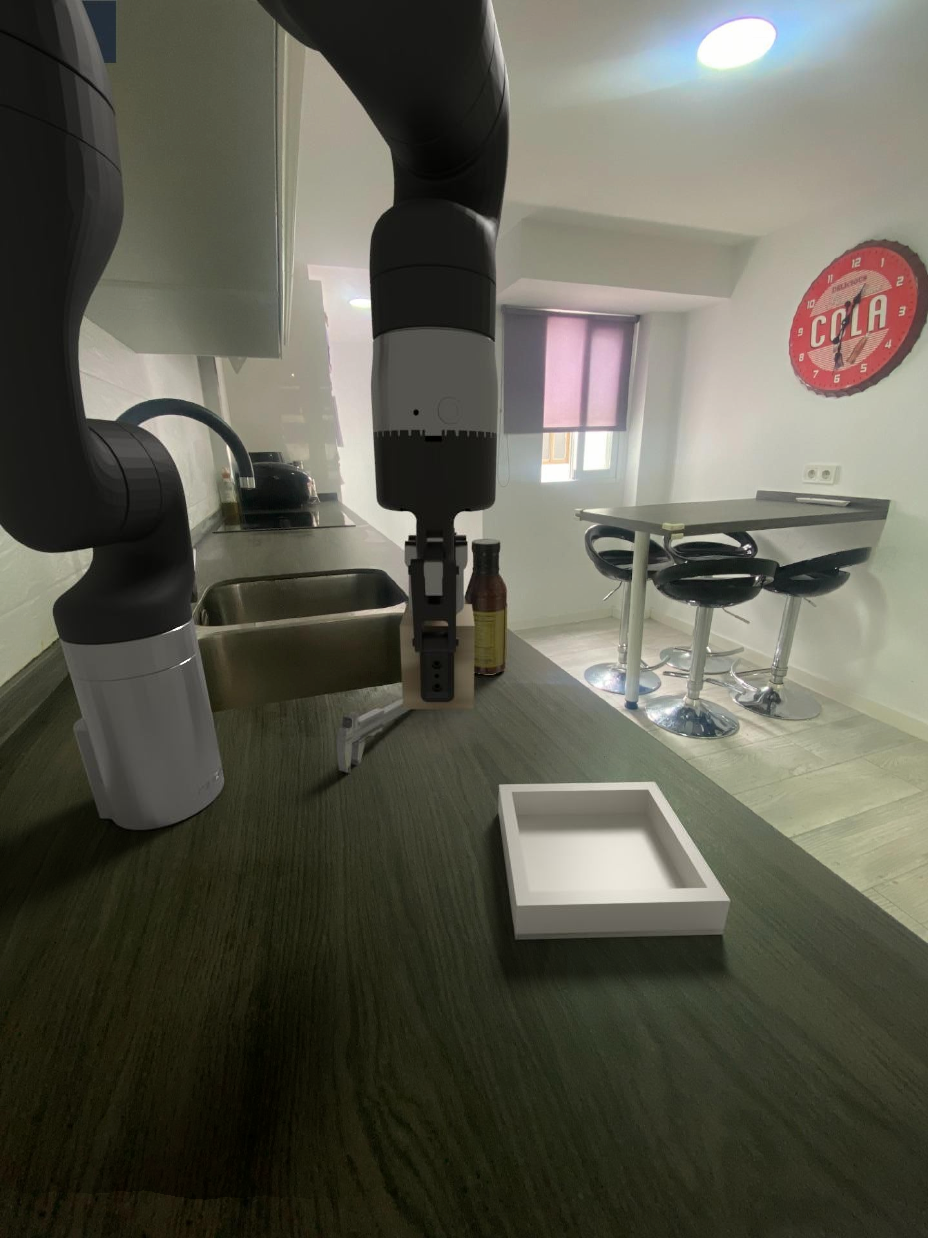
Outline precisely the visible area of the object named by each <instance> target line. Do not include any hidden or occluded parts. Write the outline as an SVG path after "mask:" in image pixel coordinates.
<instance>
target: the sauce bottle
mask: <svg viewBox="0 0 928 1238" xmlns="http://www.w3.org/2000/svg"><path fill="white" fill-rule="evenodd" d="M471 552H472V573H471V574H470V578H469V581H468V584H467V588H466V591H465V592H464V604H472V610H473V617H474V624H475V646H474V672H475V673H480V674H494V673H497V672H500V671H502V670H504V669H505V670H506V666H507V665H506V664H507V663H506V661H507V656H508V651H507V650H508V603H507V602H508V600H507V599H508V595H507V594H508V590H507V589H508V587H507V585H506V583H505V581H504V579H503V578H502V576H501V574H500V552H501V541H500V540H499V539H495V538H478V539H477V538H476V539H474V540H472V541H471ZM505 670H504V671H505ZM502 672H503V671H502ZM475 673H474V674H475Z"/></svg>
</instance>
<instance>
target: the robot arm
mask: <svg viewBox="0 0 928 1238" xmlns="http://www.w3.org/2000/svg"><path fill="white" fill-rule="evenodd" d="M256 2H257V3H258V4H259V5H260V6H261V7H262V8H263V10H265V11H266V12H267V13H268V14H269V16H271V17H272V18H273V20H274V21H275V22H277V24H278V25H279V26H280V27H281V28H283V30H284V31H286V33H288V34H289V35H290V36H291V37H292V38H294V40H296V41H298V42H299V43H300V44H302V45H303V46H305V47H307V48H309V49H311V50H312V51H316V52H319V53H320V54H321V55H322V56H323V58H324V59H325V60H326V61H327V63H328V64H329V65H330V66H331V67H332V69H333V70H334V71H335V73H336V74H337V75H338V76H339V78H340V79H341V80H342V81H343V83H344V84H345V85H346V86H347V88H348V90H350V92H351V93H352V95H353V96H354V97H355V98H356V100H357V102H359V104H360V105H361V106H362V108H363V110H364V111H365V113H366V114H367V115H368V117H369V119H370V120H371V122H372V123H373V125H374V126H375V128H376V129H377V131H378V132H379V134H380V136H381V137H382V139H383V140H384V142H385V143H386V145H387V146H388V147H389V149H390V155H391V161H392V162H391V163H392V169H393V171H392V172H393V202H392V204H393V205H392V206H391V207H389V208H388V209H386V210H385V211H384V212H383V213H382V214H381V215H380V217H378V219H377V220H376V223H375V224H374V226H373V229H372V233H371V235H370V245H369V264H368V266H369V269H368V270H369V292H370V294H369V295H370V312H371V313H370V314H371V332H372V336H371V337H372V340H373V341H372V363H371V364H372V365H371V373H370V374H371V376H370V395H371V397H370V398H371V399H370V400H371V401H370V402H371V416H372V417H371V419H372V440H373V441H372V442H373V455H374V456H373V457H374V475H375V477H374V480H375V495H376V497H375V498H376V502H377V504H378V505H379V506H380V507H381V508H382V509H385V510H388V511H391V512H393V511H394V512H409V513H411V514H412V515H413V516H414V517H415V520H416V522H415V534H408V536H407V537H408V538H407V540H404V564H405V566H406V567H407V575H408V604H409V609H410V610H411V611H412V612H413V629H414V638H413V639H412V645H413V647H414V646H415V652H420V681H421V698H422V700H423V701H425V702H450V701H452V700H453V698H454V652H456V646H459V638H458V637H456V615H457V614H458V613H460V612H461V611H462V610H463V607H464V604H465V589H464V588H465V587H464V586H465V584H464V583H465V581H464V579H465V577H464V575H465V574H464V573H465V572H464V571H465V569H466V568H467V566H468V561H469V560H468V558H469V557H468V556H469V555H468V554H469V552H468V551H469V550H468V548H469V546H468V540H467V535H466V534H458V533H457V531H455V530H456V529H455V519H456V517H457V516H458V515H459V514H460V513H464V512H468V513H469V512H470V513H473V512H479V511H485V510H488V509H490V508H492V507H493V506H494V504H495V502H496V496H497V495H496V493H497V456H498V455H497V452H498V450H497V449H498V447H497V446H498V417H499V416H498V412H499V411H498V410H499V406H498V405H499V380H498V372H497V361H496V360H497V359H496V344H495V342H496V323H497V321H496V319H497V316H496V313H497V312H496V311H497V263H496V261H497V260H496V259H497V258H496V247H497V241H498V236H499V230H500V225H501V220H502V212H503V205H504V198H505V191H506V182H507V177H508V166H509V156H510V155H509V152H510V141H511V139H510V138H511V137H510V136H511V135H510V133H511V100H510V99H511V97H510V86H509V85H510V84H509V78H508V77H509V76H508V71H507V70H508V69H507V64H506V60H505V55H504V52H503V51H504V50H503V47H502V43H501V39H500V35H499V29H498V25H497V21H496V17H495V11H494V7H493V1H492V0H256ZM108 73H109V72H108V71H107V67H106V64H105V60H104V57H103V55H102V52H101V48H100V44H99V42H98V39H97V36H96V34H95V31H94V28H93V26H92V23H91V20H90V17H89V16H88V13H87V10H86V8H85V6H84V3H83V0H0V526H1V527H2V529H3V530H4V531H5V532H6V533H7V534H8V535H9V536H10V537H12V538H13V539H14V540H15V541H16V542H18V543H19V544H21V545H23V546H25V547H26V548H28V549H31V550H32V551H36V552H40V553H44V554H45V553H47V554H63V553H70V552H71V553H72V552H77V551H84V550H87V549H92V560H91V562H90V565H89V567H88V568H87V570H86V571H85V573H84V574H83V575H82V577H80V579H79V580H78V581H77V582H75V583H74V584H73V585H72V586H71V587H69V588H68V589H67V590H66V591H65V592H63V593H62V594H61V595H59V597H58V598H57V599H56V600H55V602H54V603H53V605H52V616H53V621H54V624H55V628H56V632H57V635H58V637H59V642H60V645H61V648H62V652H63V655H64V658H65V662H66V665H67V669H68V673H69V675H70V679H71V682H72V685H73V688H74V692H75V695H76V699H77V702H78V705H79V709H80V712H81V718H79V719H78V720H76V721H75V723H74V724H73V726H72V729H73V733H74V735H75V739H76V742H77V743H76V744H77V746H78V750H79V753H80V756H81V760H82V762H83V766H84V769H85V772H86V776H87V778H88V783H89V786H90V788H91V789H90V790H91V792H92V796H93V798H94V803H95V805H96V808H97V812H98V816H99V818H100V819H110V820H112V821H113V822H114V824H116V825H117V826H119V827H121V828H123V829H127V830H133V831H137V830H138V831H142V830H143V831H147V830H154V829H159V828H162V827H167V826H171V825H174V824H176V823H179V822H181V821H183V820H186V819H188V818H190V817H191V816H194V815H196V814H197V813H199V812H200V811H202V810H204V809H205V808H206V807H207V806H209V805H210V804H211V803H212V802H213V801H214V800H216V798H217V797H218V796H219V794H220V793H221V792H222V790H223V788H224V785H225V776H224V771H223V763H222V760H221V755H220V750H219V742H218V738H217V733H216V728H215V722H214V717H213V712H212V707H211V702H210V697H209V691H208V687H207V681H206V676H205V671H204V666H203V661H202V656H201V650H200V647H199V646H200V645H199V641H198V640H199V639H198V636H197V630H196V627H195V625H196V624H195V620H194V616H193V610H192V602H191V600H192V595H193V591H194V587H195V583H196V569H195V560H194V552H193V551H194V550H193V543H192V536H191V535H192V534H191V528H190V521H189V520H190V519H189V513H188V511H189V510H188V506H187V501H186V500H187V499H186V495H185V489H184V485H183V482H182V478H181V475H180V473H179V469H178V467H177V465H176V463H175V460H174V458H173V457H172V455H171V453H170V451H169V450H168V449H167V447H166V446H165V445H164V443H162V441H161V440H160V439H159V438H158V437H157V436H155V434H153V433H152V432H150V431H148V430H147V429H145V428H143V427H141V426H140V425H136V424H134V423H129V422H126V421H125V422H124V421H117V420H111V419H103V418H89V417H87V416H86V411H85V405H84V397H83V392H82V390H83V389H82V383H81V373H80V371H81V370H80V359H79V356H80V354H79V350H80V348H79V345H80V344H79V342H80V333H81V325H82V322H83V319H84V315H85V312H86V310H87V307H88V304H89V302H90V299H91V297H92V295H93V293H94V291H95V289H96V287H97V285H98V283H99V281H100V280H101V278H102V276H103V274H104V272H105V271H106V268H107V266H108V264H109V262H110V260H111V257H112V255H113V253H114V250H115V248H116V245H117V243H118V240H119V237H120V233H121V230H122V226H123V221H124V214H125V212H124V211H125V198H124V197H125V196H124V195H125V193H124V183H123V174H122V166H121V155H120V145H119V137H118V129H117V128H118V127H117V119H116V111H115V103H114V97H113V96H114V95H113V90H112V86H111V82H110V81H111V80H110V77H109V74H108ZM425 621H445V622H447V623H448V631H431V632H425Z"/></svg>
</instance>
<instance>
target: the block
mask: <svg viewBox="0 0 928 1238" xmlns="http://www.w3.org/2000/svg"><path fill="white" fill-rule="evenodd" d="M431 631H448V623H447V622H445V621H425V632H431ZM456 637H458V638H459V646H456V652H454V698H453V700H452V701H450V702H425V701H423V700H422V698H421V681H420V652H415V646H414V647H413V645H412V639H413V638H414V629H413V612H412V611H411V610H410V609H409V603H408V604H406V605H405V608H404V612H403V615H402V618H401V622H400V624H399V639H400V662H401V668H400V669H401V688H402V689H401V690H402V691H401V692H402V698H403V709H410V710H451V709H452V710H456V709H457V710H466V709H468V710H470V709H474V708H475V705H474V703H475V702H474V701H475V698H474V697H475V673H474V646H475V624H474V617H473V610H472V604H465V603H464V607H463V610H462V611H461V612H460V613H458V614H457V615H456Z"/></svg>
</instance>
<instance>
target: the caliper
mask: <svg viewBox="0 0 928 1238" xmlns="http://www.w3.org/2000/svg"><path fill="white" fill-rule="evenodd" d="M410 710H411V709H403V697H402V698H400V699H398V700H397V701H393V702H392V703H390V704H389V705H387V706H385V707H383V708H378V707H377V708H374V709H373V710H372V709H371V710H370V711H368V712H366V713H364V714H362V715H359V713H358V712H354V711H350V712H349V714H348V715H344V714H342V723H341V724H342V725H341V726H340V727H338V730H337V731H338V732H337V743H336V754H337V765H338V770H339V771H340V772H344V773H347V774H349V773H351V765H354V766H359V765H360V764H361V763H362V758H363V753H364V749H365V745H366V740H367V739H368V738H374V737H377V735H379V734H382V733H383V731H384V725H386V724H387V723H390V722H391V721H393V720H395V719H396V718H398V717H400V716H401V715H404V714H406V713H407V712H409V711H410Z"/></svg>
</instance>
